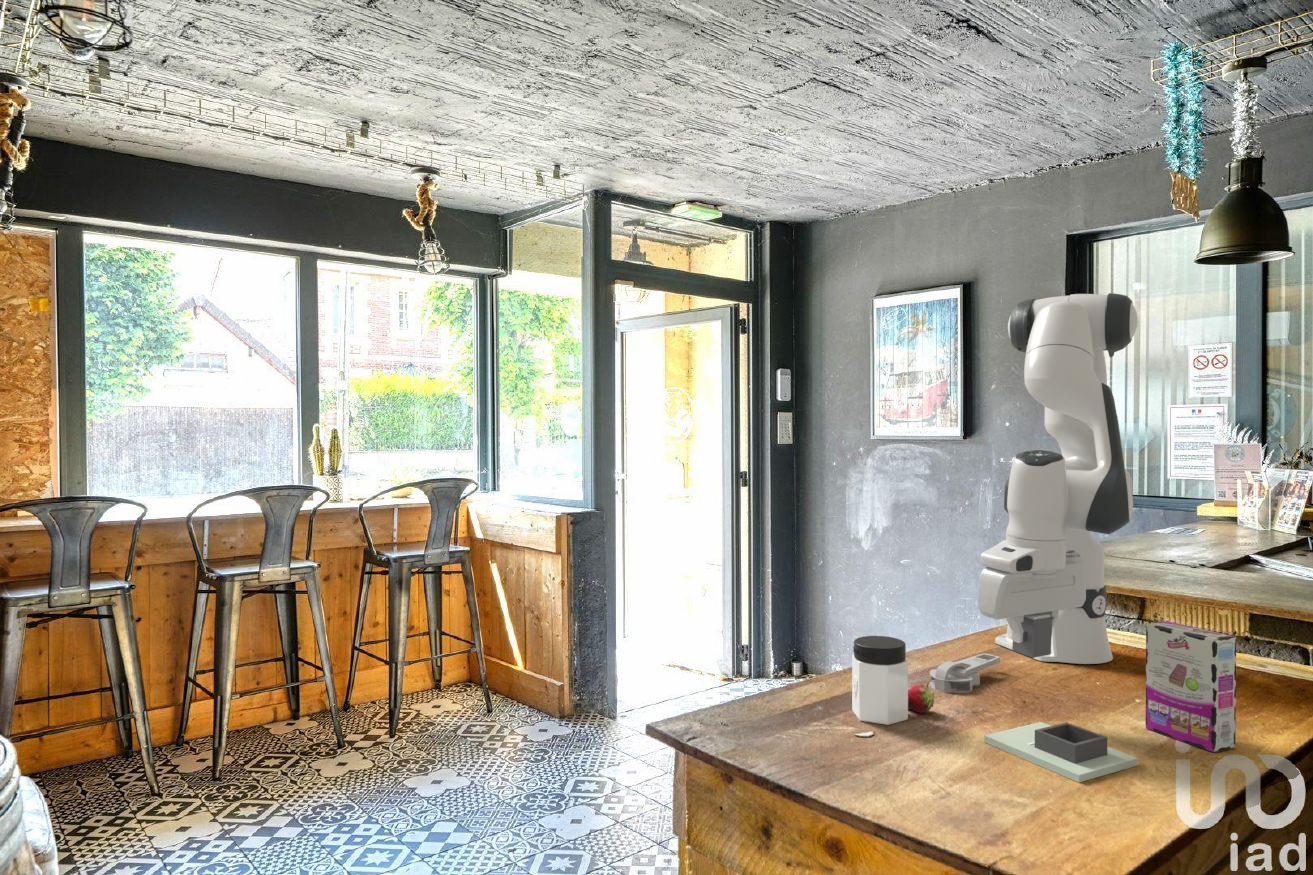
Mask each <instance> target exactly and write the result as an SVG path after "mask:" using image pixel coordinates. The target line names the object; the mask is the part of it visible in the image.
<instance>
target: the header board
mask: <svg viewBox="0 0 1313 875" xmlns="http://www.w3.org/2000/svg"><path fill="white" fill-rule="evenodd" d="M983 737H984V738H983V742H984V743H985V744H988V745H990V746H993V747H995V748H998V749H1000V750H1002V751H1004V752H1006V753H1009V754H1011V755H1014V756H1016V757H1019V758H1021V759H1023V760H1025V761H1028V762H1030V763H1032V764H1035V765H1037V766H1040V767H1041V768H1044V769H1047V770H1049V771H1051V772H1053V773H1055V774H1057V775H1060V776H1061V777H1062V776H1063V777H1065V778H1068V779H1070V780H1072V781H1074V782H1076V783H1082V782H1085V781H1088V780H1093V779H1096V778H1098V777H1103V776H1107V775H1110V774H1112V773H1116V772H1120V771H1123V770H1124V771H1125V770H1128V769H1130V768H1134V767H1137V766H1139V758H1138V757H1136V756H1133V755H1130V754H1129V753H1127V752H1123V751H1120V750H1118V749H1115V748H1112V747H1110V746H1108V736H1106V735H1102V734H1099V733H1097V732H1094V731H1091V730H1090V729H1085V728H1083V727H1081V726H1077V725H1074V724H1072V723H1069V722H1062V723H1058V724H1054V725H1050V724H1049V723H1045V722H1043V721H1039V722H1034V723H1031V724H1027V725H1022V726H1017V727H1013V728H1009V729H1005V730H1002V731H997V732H993V733H988V734H985V735H983Z"/></svg>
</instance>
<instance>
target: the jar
mask: <svg viewBox="0 0 1313 875" xmlns="http://www.w3.org/2000/svg"><path fill="white" fill-rule="evenodd" d="M906 648H907V645H906V642H905V641H903V640H902V639H899V638H896V637H893V636H892V637H891V636H884V635H865V636H860V637H857V638H855V639H854V641H853V650H852V652H853V654H852V655H851V687H852V688H851V697H852V699H851V701H852V703H851V709H852V712H853V713H854V715H855V716H856V718H857V719H858V720H859V721H860V722H865V723H866V722H867V723H870V724H871V723H873V724H880V725H883V726H884V725H885V726H889V725H893V724H897V723H900V722H903V721H904V722H905V721H907V720H909V708H908V690H909V662H908V660H907V659H906V658H907V657H906V656H907V654H906V652H907V651H906V650H907V649H906Z"/></svg>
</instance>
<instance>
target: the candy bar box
mask: <svg viewBox="0 0 1313 875" xmlns="http://www.w3.org/2000/svg"><path fill="white" fill-rule="evenodd" d="M1145 628H1146V629H1145V639H1146V640H1145V729H1147V730H1149V731H1152V732H1154V733H1157V734H1160V735H1163V736H1166V737H1168V738H1171V739H1175V740H1176V741H1177V740H1178V741H1180V742H1183V743H1186V744H1189V745H1191V746H1195V747H1197V748H1200V749H1203V750H1206V751H1209V752H1211V753H1218V752H1223V751H1227V750H1232V749H1236V734H1237V733H1236V731H1237V730H1236V728H1237V727H1236V725H1237V723H1236V713H1237V712H1236V710H1237V709H1236V708H1237V707H1236V705H1237V704H1236V703H1237V701H1236V700H1237V692H1236V691H1237V689H1236V688H1237V687H1236V686H1237V636H1236V635H1231V634H1226V633H1222V632H1219V631H1213V630H1209V629H1204V628H1199V627H1195V626H1190V625H1185V624H1181V623H1177V622H1172V621H1167V620H1165V621H1157V622H1151V623H1150V622H1149V623H1146V624H1145Z"/></svg>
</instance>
